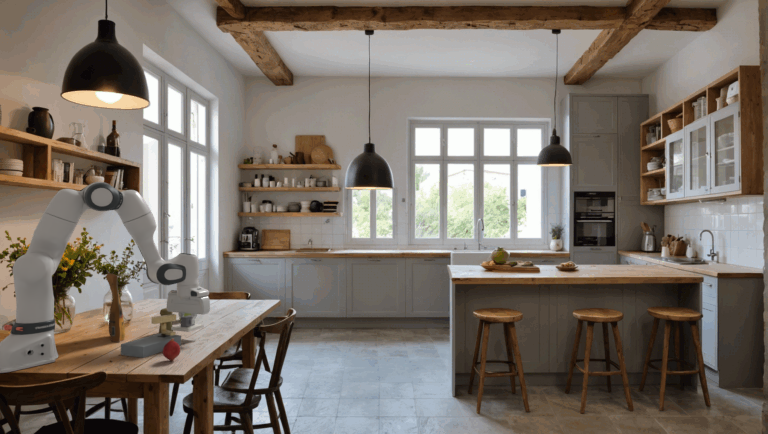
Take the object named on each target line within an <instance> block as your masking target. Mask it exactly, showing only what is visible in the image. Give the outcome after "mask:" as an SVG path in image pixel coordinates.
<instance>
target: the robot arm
mask: <svg viewBox="0 0 768 434" xmlns="http://www.w3.org/2000/svg"><path fill="white" fill-rule="evenodd" d="M90 209H91V210H93V211H96V212H109V211H114V212H115V213H117V215H118V216H119V218H120V220H121V222H122V224H123V226H124V228H125V229H126V230H127V231H126V232H128V234H129V236H131V238H132V240H134V242H135V243H136V246H137V248H138V250H139V252H140V255H142V258H143V261H144V263H145V273H146V277H147V279H148V280H149V281H150V283H153V284H157V285H161V286H171V285H175V284H176V290H175V289H171V290H170V291H168V293H167V300H166V307H165V308H166V309H167V311H168V312H173V313H178V314H177V315H178V317H180V319H181V317H184V314H185V313H189V314H191V316H192V318H191V320H189V324H194V323H195V321H196V319H197V316H198V315H201V316H203V315H208V314H209V313H210V312H211V300H210V297H209V295H210V290H208V289H206V288H204V287H202V286H200V281H199V276H200V262H199V261H200V260H199V258H198V255H196V254H193V253H187V252H180V253H178V254H177V255H175V256H174V257H172V258H171V259H168V260H165V259H163V258H162V256H161V254H160V252H159V250H158V247H157V245H156V243H155V241H154V234H155V231H156V230H157V224H156V220H155V217H154V214H153V213H152V210H151V208H150V207H149V205H148V203H147V202H146V201H145V199H144V197H143V196H142V195H141V194H140V193H139V191H137V190H134V189H126V190H123V191H120V190H118V189H117V188H115V186H112V185H111V184H110V183H107V182H103V181H95V182H91V183H90V184H88V185H86V186H85V187H83V188H82V189H81V190H75V189H72V188H63V189H60V190H58V192H57V193H56V194H55V195H53V197H52V198H51V200H50V201H49V203H48V205H47V207H46V208H45V209H44V212H43V213H42V215H41V218H40V219H39V222H38V223H37V225H36V227H35V229H34V231H33V235H32V238H31V240H30V242H29V246H28V248H27V250H26V253H24V254H23V255H21V256H19V257H18V258H17V259H16V260H15V262H14V263H13V265H12V275H13V285H14V293H15V304H16V305H15V306H16V307H15V309H16V310H15V322H14V324H13V325H12V324H5V325H3V329H4V331H8V332H10V333H9V334H8V335H7V336H6V337H5V338H3V339H2V340H1V341H0V374H4V373H10V372H11V373H12V372H15V371H20V370H25V369H28V368H33V367H37V366H42V365H46V364H52V363H54V362H56V360H57V359H58V357H59V353H58V351H57V347H56V340H55V330H56V318H55V314H54V312H55V296H54V288H53V275H54V274H55V273H56V271H57V269H58V267H59V265H60V264H61V261H62V258H63V255H64V253H65V251H66V248H67V246H68V244H69V241H70V239H71V237H72V235H73V233H74V231H75V229H76V227H77V225H78V223H79V221H80V219H81V217H82V215H83V214H84V213H85V212H86V211H88V210H90ZM180 319H179V320H180ZM195 324H196V323H195Z"/></svg>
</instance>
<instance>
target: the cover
mask: <svg viewBox="0 0 768 434" xmlns="http://www.w3.org/2000/svg"><path fill="white" fill-rule="evenodd" d="M191 318H192V316H191V315H188V316H184V317H181V321H180V324H178V325H175V326H173V327H171V330H173V332H186V333H190V332H193V331H196V330H200V329H203V328H204V324H200V323H194V324H189V320H191Z"/></svg>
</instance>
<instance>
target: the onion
mask: <svg viewBox="0 0 768 434" xmlns="http://www.w3.org/2000/svg"><path fill="white" fill-rule="evenodd" d="M180 353H181V346H179V344H178V343H176V342H175V341H174V339H171V340H170V341H169V342H168V343H167V344H166V345H165V346H164V348H163V352H162V355H163V357H164V358H165V359H166V360H169V361H171V362H172V361H174V360H175V359H176V358H177V357H178V356H179V355H180Z"/></svg>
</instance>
